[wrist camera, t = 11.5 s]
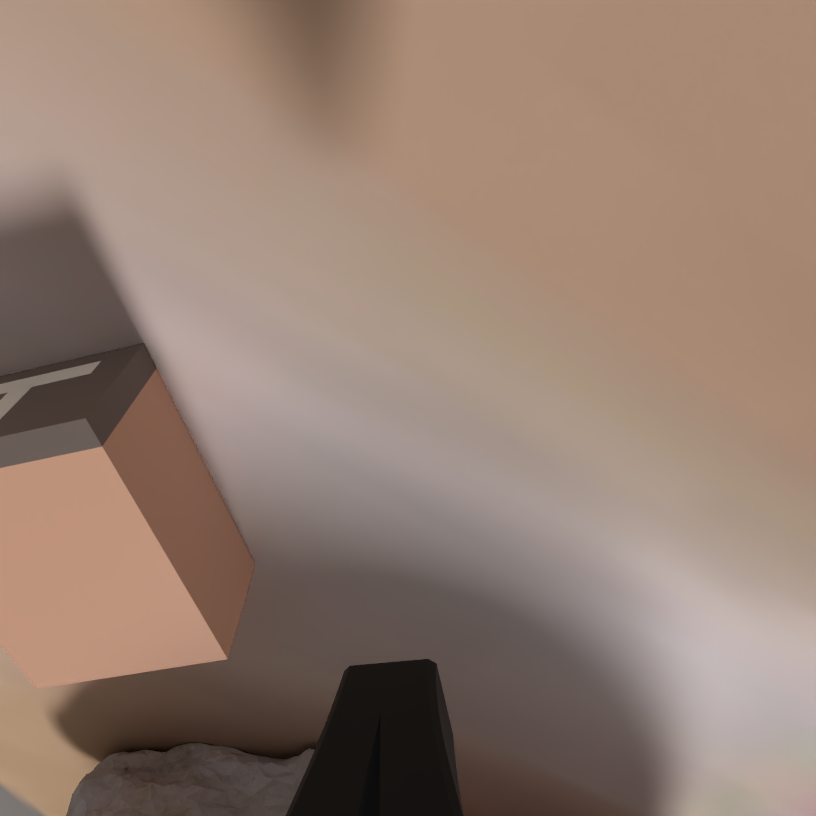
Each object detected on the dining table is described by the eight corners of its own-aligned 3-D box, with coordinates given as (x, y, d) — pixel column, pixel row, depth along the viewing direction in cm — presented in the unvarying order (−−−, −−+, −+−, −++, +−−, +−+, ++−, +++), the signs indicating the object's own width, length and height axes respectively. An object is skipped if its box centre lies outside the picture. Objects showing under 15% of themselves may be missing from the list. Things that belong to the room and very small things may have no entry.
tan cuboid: (-148, 468, 14) (36, 688, 18) (84, 417, 14) (227, 659, 17) (-52, 386, 17) (90, 591, 21) (145, 341, 17) (256, 562, 20)
